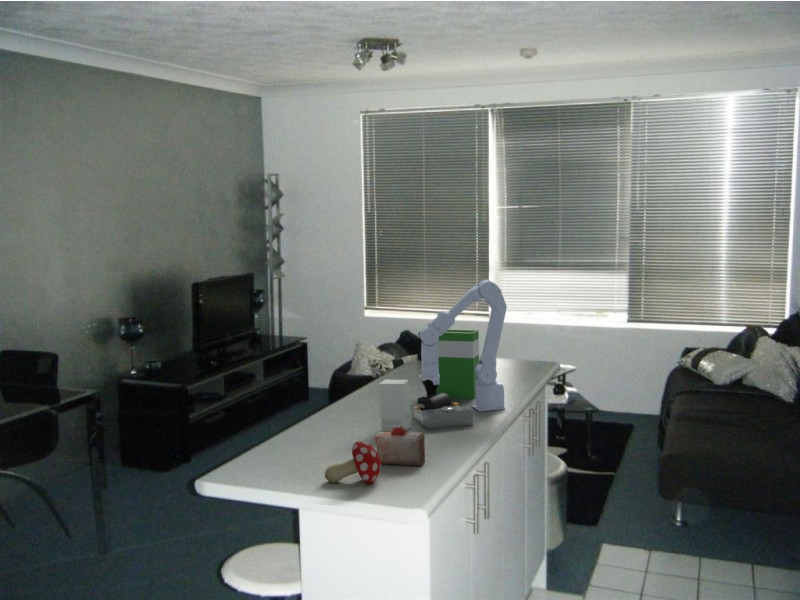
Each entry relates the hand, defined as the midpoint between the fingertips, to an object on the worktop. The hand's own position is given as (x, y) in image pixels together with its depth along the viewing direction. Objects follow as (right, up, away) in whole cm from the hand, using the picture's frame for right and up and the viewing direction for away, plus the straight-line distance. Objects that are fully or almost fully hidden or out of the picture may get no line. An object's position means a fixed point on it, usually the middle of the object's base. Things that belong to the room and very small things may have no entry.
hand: (431, 401), depth 275 cm
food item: (-11, -10, -55) cm, 57 cm away
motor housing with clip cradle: (+3, -5, -14) cm, 15 cm away
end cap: (+1, -4, -6) cm, 7 cm away
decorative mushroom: (-23, -12, -69) cm, 74 cm away
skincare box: (-12, -6, -22) cm, 26 cm away
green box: (+9, -1, +22) cm, 24 cm away
